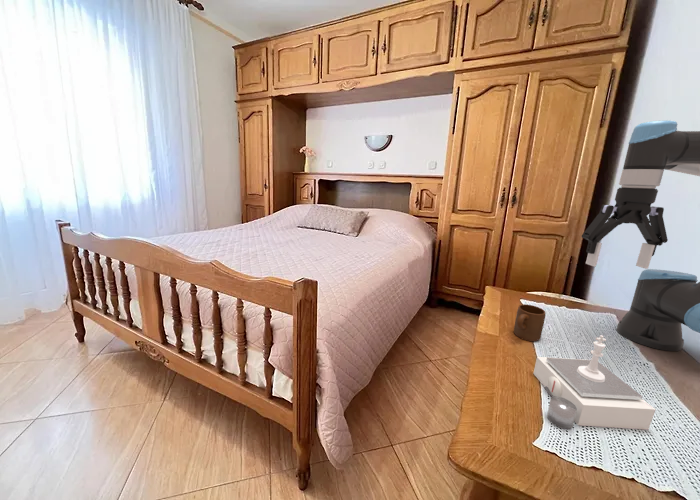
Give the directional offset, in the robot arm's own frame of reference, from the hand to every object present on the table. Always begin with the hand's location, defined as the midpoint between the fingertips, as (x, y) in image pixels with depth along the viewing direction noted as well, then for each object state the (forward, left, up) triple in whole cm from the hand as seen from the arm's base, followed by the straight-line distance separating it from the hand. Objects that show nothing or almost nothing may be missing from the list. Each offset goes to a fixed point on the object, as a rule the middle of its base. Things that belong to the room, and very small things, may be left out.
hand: (616, 266), depth 78 cm
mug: (+17, -6, -27) cm, 32 cm away
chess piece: (+17, +20, -21) cm, 33 cm away
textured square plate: (+17, +20, -21) cm, 34 cm away
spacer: (+27, +27, -27) cm, 47 cm away
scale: (+17, +20, -27) cm, 37 cm away
